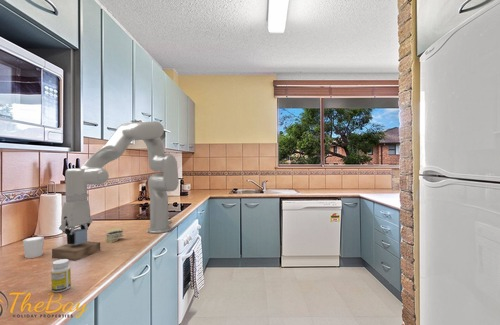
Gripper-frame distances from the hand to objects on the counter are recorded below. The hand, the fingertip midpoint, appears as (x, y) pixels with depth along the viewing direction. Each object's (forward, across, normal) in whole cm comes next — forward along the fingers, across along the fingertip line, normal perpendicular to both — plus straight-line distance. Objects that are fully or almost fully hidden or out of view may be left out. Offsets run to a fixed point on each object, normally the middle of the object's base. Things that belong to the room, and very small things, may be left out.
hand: (77, 241), depth 112 cm
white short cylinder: (+5, +6, -16) cm, 18 cm away
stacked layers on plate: (+6, -20, 0) cm, 21 cm away
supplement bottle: (+5, +25, +23) cm, 34 cm away
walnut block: (+6, 0, 0) cm, 6 cm away
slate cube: (0, 0, 0) cm, 0 cm away
